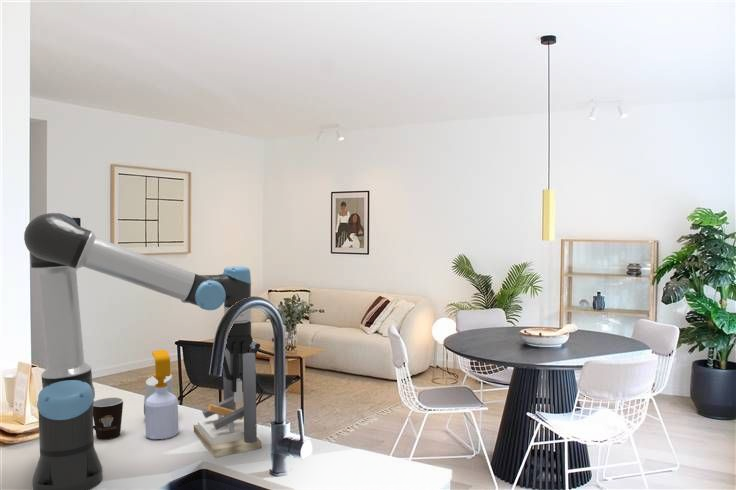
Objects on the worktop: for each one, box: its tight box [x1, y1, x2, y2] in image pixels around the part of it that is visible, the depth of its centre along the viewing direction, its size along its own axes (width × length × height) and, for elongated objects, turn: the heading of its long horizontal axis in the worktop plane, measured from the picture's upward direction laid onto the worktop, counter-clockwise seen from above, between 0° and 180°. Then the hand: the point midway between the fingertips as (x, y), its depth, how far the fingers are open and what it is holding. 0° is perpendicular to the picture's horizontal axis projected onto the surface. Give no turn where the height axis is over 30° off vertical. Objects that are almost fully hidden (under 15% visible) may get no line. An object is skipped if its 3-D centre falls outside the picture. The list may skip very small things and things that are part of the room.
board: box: [193, 424, 262, 458], centre depth 175 cm, size 13×22×2 cm, turn 29°
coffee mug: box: [93, 397, 124, 441], centre depth 178 cm, size 12×9×10 cm
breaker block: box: [197, 414, 244, 445], centre depth 174 cm, size 12×15×5 cm
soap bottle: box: [144, 349, 180, 440], centre depth 178 cm, size 9×9×25 cm
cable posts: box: [222, 348, 258, 443], centre depth 176 cm, size 3×22×24 cm, turn 29°
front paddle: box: [212, 406, 244, 430], centre depth 169 cm, size 10×2×2 cm, turn 119°
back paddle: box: [202, 396, 237, 419], centre depth 179 cm, size 10×2×2 cm, turn 119°
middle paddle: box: [207, 403, 244, 420], centre depth 174 cm, size 10×2×2 cm, turn 120°
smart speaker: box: [143, 373, 175, 416], centre depth 192 cm, size 10×9×14 cm
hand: (238, 402), depth 176 cm, fingers closed
